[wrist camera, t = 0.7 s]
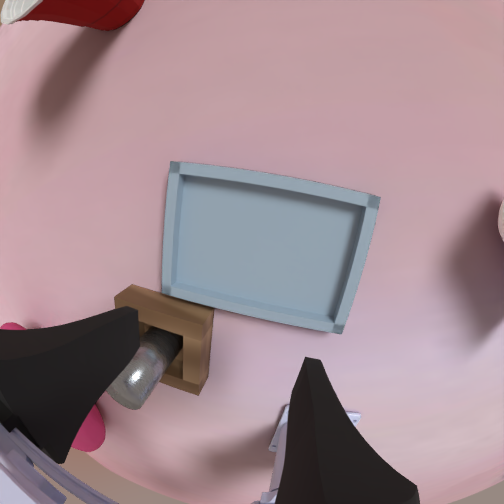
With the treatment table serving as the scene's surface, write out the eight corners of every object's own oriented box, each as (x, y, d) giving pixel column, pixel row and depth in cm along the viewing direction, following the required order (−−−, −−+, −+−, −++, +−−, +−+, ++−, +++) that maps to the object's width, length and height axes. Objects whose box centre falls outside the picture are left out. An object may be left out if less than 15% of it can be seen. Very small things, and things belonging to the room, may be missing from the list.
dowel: (184, 355, 23) (144, 415, 16) (152, 344, 24) (107, 397, 16) (185, 326, 22) (138, 386, 15) (151, 315, 23) (98, 367, 15)
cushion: (18, 288, 26) (-28, 324, 18) (115, 357, 26) (68, 419, 17) (47, 379, 36) (21, 410, 27) (124, 430, 36) (100, 470, 27)
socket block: (208, 376, 24) (198, 395, 21) (137, 351, 25) (123, 366, 23) (214, 307, 22) (202, 325, 19) (132, 284, 23) (114, 296, 20)
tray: (339, 323, 20) (341, 334, 18) (170, 285, 22) (161, 293, 20) (374, 195, 17) (380, 197, 15) (180, 161, 19) (170, 161, 17)
